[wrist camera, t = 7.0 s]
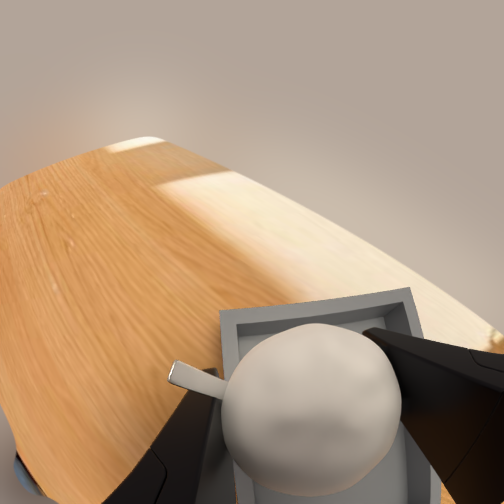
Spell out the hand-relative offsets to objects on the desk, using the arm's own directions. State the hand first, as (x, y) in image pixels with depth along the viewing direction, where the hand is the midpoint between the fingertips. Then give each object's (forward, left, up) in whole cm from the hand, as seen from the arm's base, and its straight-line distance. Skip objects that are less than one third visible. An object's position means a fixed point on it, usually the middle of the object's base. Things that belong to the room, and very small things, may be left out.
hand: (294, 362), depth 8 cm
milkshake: (-1, -1, -7) cm, 7 cm away
